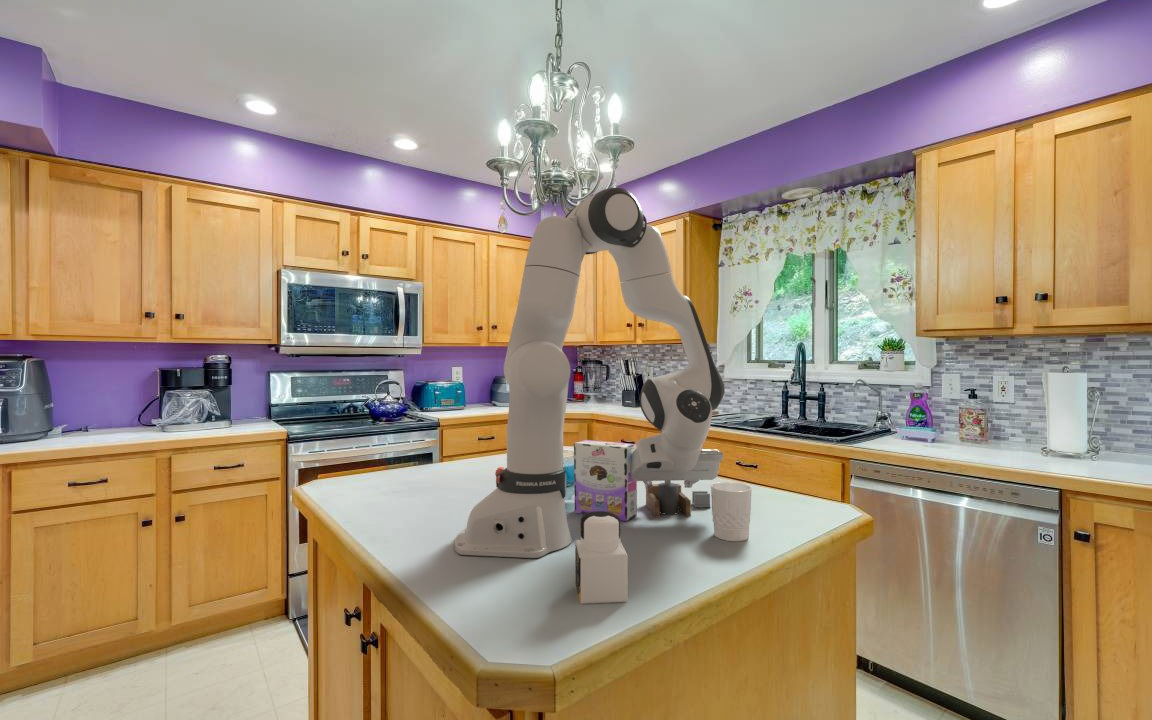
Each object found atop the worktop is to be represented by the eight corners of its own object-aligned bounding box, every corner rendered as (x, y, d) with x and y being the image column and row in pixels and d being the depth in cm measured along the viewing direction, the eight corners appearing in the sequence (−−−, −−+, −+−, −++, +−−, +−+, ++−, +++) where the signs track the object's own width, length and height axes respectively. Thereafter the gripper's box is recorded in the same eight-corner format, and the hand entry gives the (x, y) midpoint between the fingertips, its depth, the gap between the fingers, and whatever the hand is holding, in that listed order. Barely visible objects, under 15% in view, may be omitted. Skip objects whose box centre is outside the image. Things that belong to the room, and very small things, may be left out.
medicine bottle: (575, 584, 85) (575, 508, 85) (619, 582, 85) (619, 507, 85) (579, 604, 78) (579, 522, 78) (627, 602, 78) (627, 521, 78)
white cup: (754, 544, 103) (754, 492, 103) (711, 541, 104) (711, 490, 104) (749, 531, 111) (749, 482, 111) (710, 528, 112) (710, 481, 112)
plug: (660, 514, 122) (660, 473, 122) (656, 509, 127) (656, 469, 127) (680, 514, 123) (680, 473, 123) (675, 508, 127) (675, 469, 127)
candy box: (638, 515, 121) (638, 443, 121) (626, 522, 117) (626, 447, 116) (586, 506, 129) (586, 438, 129) (573, 512, 124) (573, 441, 124)
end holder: (655, 516, 121) (654, 494, 120) (645, 504, 130) (645, 484, 130) (690, 516, 121) (690, 493, 121) (678, 504, 131) (678, 483, 131)
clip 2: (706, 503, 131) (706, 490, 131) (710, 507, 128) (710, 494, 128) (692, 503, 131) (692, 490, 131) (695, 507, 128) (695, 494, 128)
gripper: (722, 438, 118) (708, 473, 128) (630, 439, 117) (623, 474, 127) (729, 462, 114) (714, 496, 124) (634, 463, 112) (626, 498, 122)
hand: (667, 485), depth 125 cm, fingers open, 8 cm apart
